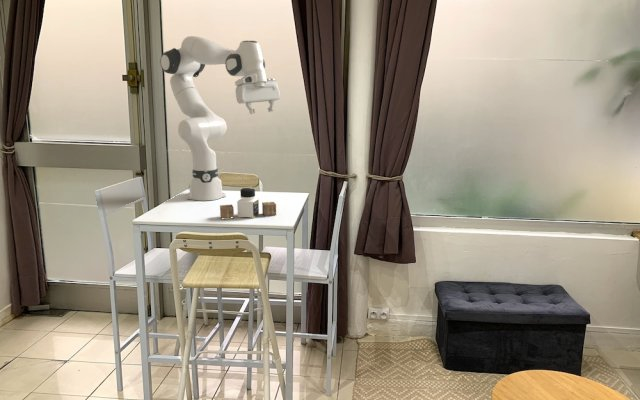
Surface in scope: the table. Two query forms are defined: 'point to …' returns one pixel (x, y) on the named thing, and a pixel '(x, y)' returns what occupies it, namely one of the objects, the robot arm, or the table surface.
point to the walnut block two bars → (268, 208)
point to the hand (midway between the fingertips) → (261, 112)
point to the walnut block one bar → (226, 211)
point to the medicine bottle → (248, 203)
